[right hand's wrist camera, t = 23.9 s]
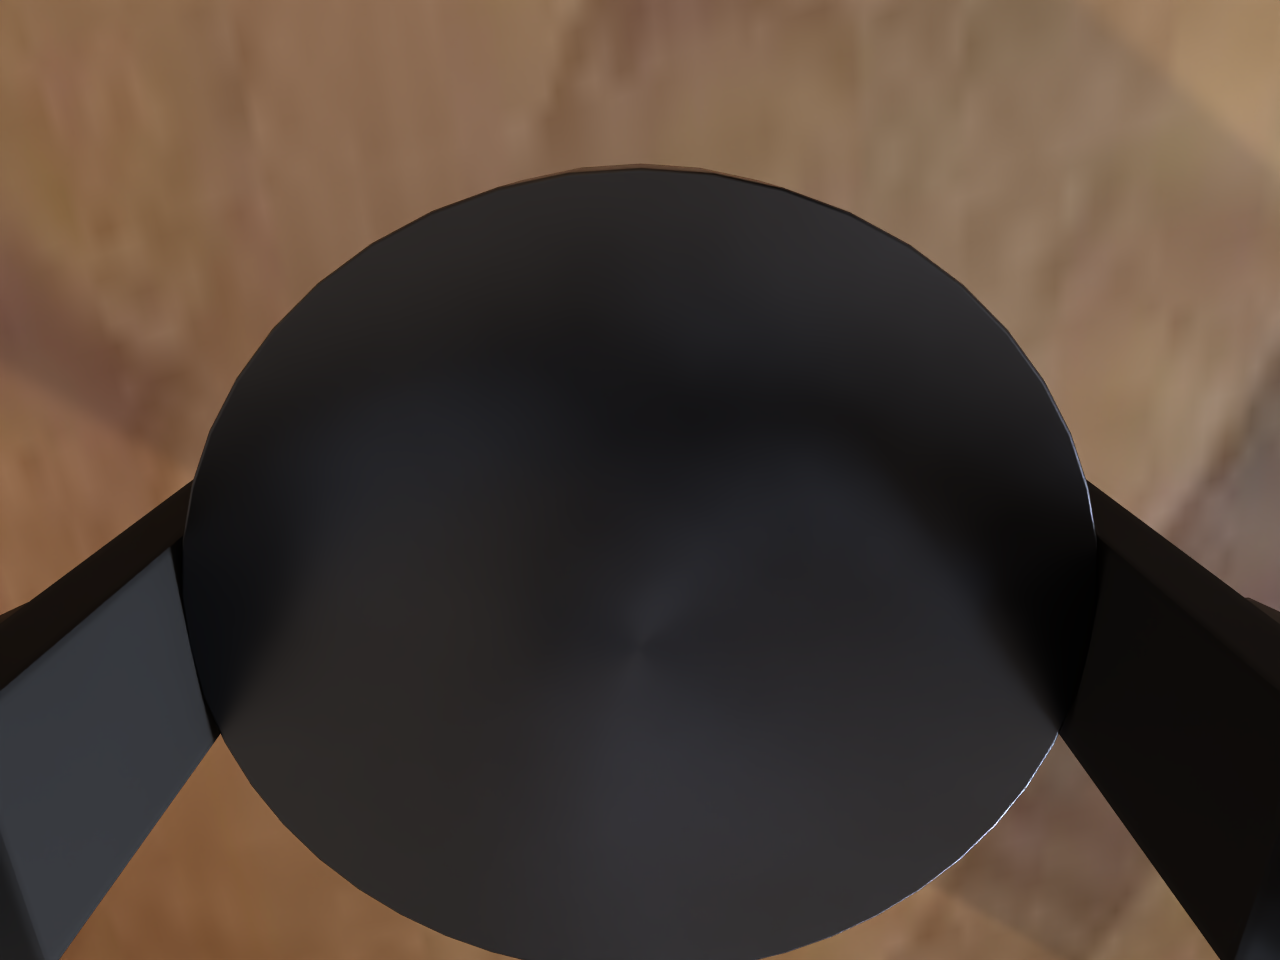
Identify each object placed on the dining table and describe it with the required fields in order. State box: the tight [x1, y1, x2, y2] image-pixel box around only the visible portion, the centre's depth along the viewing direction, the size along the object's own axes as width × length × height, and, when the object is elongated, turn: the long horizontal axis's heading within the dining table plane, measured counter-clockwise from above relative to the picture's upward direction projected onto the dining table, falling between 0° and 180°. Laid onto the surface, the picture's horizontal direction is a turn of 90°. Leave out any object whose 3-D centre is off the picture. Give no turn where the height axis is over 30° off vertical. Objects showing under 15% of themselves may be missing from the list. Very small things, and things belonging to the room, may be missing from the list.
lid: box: [182, 164, 1097, 960], centre depth 11 cm, size 11×11×2 cm
